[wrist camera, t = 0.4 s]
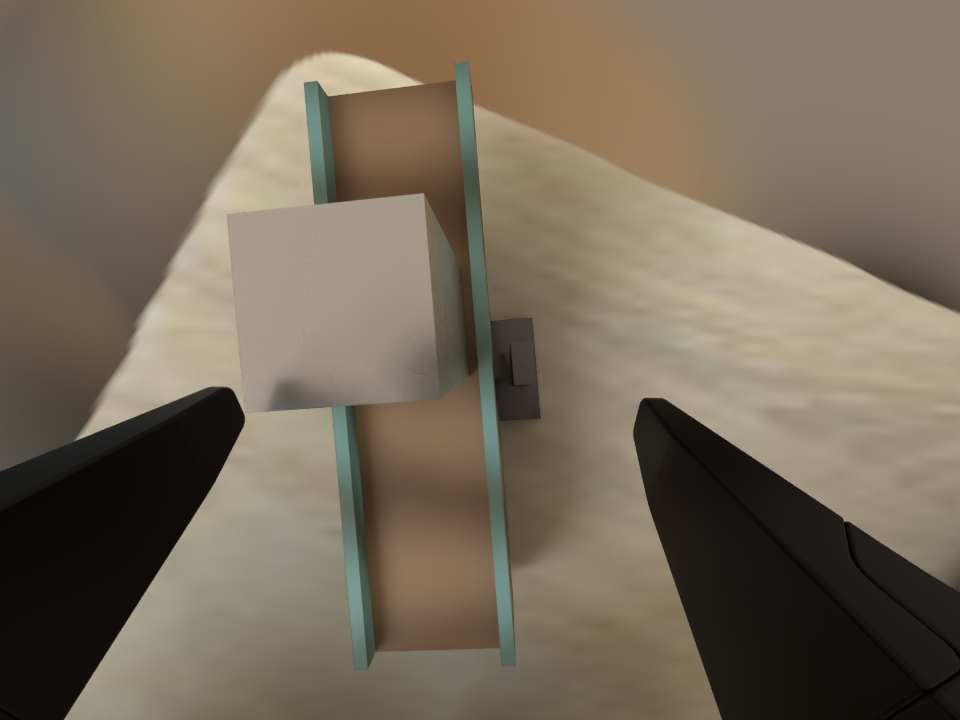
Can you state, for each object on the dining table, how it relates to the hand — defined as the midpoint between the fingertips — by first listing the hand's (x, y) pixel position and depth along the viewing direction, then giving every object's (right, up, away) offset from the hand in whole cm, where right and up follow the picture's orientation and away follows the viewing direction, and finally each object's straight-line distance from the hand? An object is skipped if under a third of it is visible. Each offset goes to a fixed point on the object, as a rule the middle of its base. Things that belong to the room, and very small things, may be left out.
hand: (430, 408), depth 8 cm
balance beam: (-2, +1, +13) cm, 13 cm away
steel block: (-2, +3, +9) cm, 10 cm away
